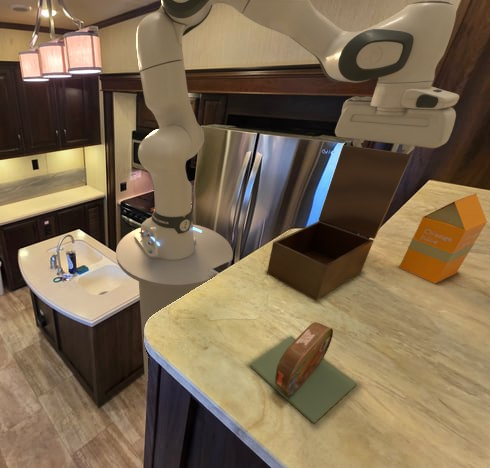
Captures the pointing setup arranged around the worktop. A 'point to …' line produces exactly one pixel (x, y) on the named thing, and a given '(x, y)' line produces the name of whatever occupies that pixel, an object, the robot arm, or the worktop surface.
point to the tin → (303, 357)
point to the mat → (307, 383)
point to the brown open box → (318, 258)
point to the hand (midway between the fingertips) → (376, 161)
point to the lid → (363, 188)
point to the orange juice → (444, 239)
